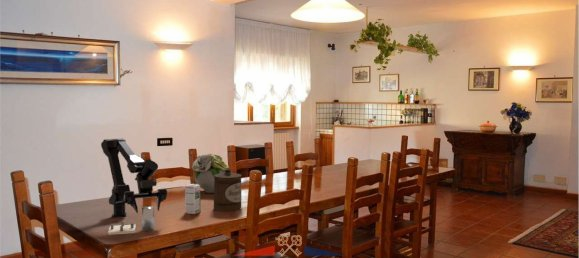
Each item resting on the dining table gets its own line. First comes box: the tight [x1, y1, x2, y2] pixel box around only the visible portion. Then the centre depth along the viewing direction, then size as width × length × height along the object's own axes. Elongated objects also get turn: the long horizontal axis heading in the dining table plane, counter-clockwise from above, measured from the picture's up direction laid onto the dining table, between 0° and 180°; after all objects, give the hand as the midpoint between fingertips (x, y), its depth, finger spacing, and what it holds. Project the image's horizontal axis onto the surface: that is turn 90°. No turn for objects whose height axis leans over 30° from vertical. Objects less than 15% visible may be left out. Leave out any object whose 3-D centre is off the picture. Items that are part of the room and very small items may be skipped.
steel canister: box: [141, 205, 155, 232], centre depth 211 cm, size 5×5×10 cm
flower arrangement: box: [191, 153, 230, 194], centre depth 299 cm, size 25×25×24 cm
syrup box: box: [184, 183, 202, 215], centre depth 244 cm, size 6×6×14 cm
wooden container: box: [213, 167, 242, 212], centre depth 255 cm, size 15×15×22 cm
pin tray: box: [107, 220, 137, 236], centre depth 209 cm, size 11×11×3 cm
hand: (148, 211), depth 211 cm, fingers open, 9 cm apart
